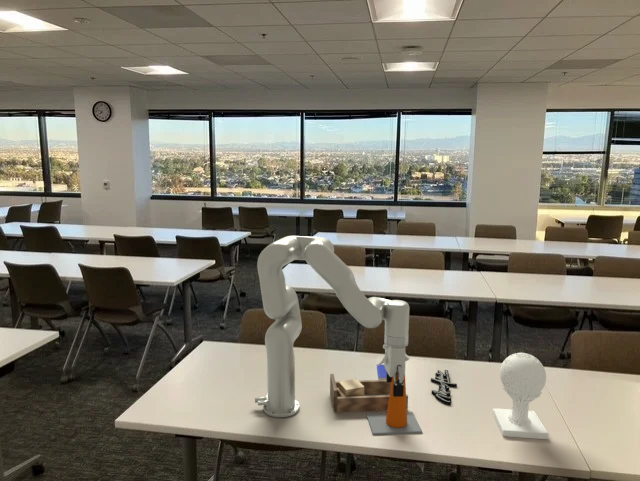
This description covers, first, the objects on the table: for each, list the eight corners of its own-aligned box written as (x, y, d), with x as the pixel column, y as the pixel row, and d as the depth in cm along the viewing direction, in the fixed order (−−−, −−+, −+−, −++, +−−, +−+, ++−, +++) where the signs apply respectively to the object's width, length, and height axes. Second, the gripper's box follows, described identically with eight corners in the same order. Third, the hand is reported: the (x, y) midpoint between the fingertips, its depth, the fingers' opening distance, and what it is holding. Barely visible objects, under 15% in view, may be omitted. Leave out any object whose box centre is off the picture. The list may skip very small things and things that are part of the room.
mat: (372, 434, 149) (372, 433, 149) (366, 414, 161) (366, 413, 161) (422, 432, 151) (422, 431, 151) (412, 413, 162) (412, 411, 162)
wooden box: (333, 412, 163) (333, 390, 162) (330, 393, 176) (330, 373, 174) (407, 409, 165) (408, 388, 164) (398, 391, 178) (399, 371, 176)
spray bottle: (378, 412, 161) (380, 339, 157) (409, 419, 157) (413, 344, 153) (372, 423, 155) (375, 347, 150) (405, 430, 151) (409, 353, 146)
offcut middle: (342, 404, 165) (342, 397, 164) (336, 394, 171) (336, 388, 171) (364, 401, 167) (364, 394, 166) (357, 391, 174) (357, 385, 173)
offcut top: (346, 396, 165) (346, 390, 164) (338, 388, 171) (338, 381, 171) (364, 393, 167) (364, 386, 167) (356, 385, 173) (356, 378, 173)
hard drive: (399, 377, 187) (395, 364, 199) (378, 377, 187) (376, 364, 200) (399, 381, 187) (395, 368, 199) (378, 381, 188) (376, 367, 200)
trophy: (501, 436, 149) (508, 362, 145) (491, 413, 163) (496, 345, 159) (548, 440, 148) (556, 365, 143) (533, 416, 161) (540, 347, 157)
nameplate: (461, 403, 167) (432, 400, 169) (461, 407, 168) (432, 404, 169) (453, 370, 194) (428, 368, 196) (453, 373, 194) (428, 372, 196)
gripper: (379, 329, 159) (378, 377, 162) (390, 349, 142) (389, 402, 145) (401, 329, 160) (399, 376, 163) (415, 349, 143) (412, 401, 146)
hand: (394, 388), depth 154 cm, fingers open, 9 cm apart
